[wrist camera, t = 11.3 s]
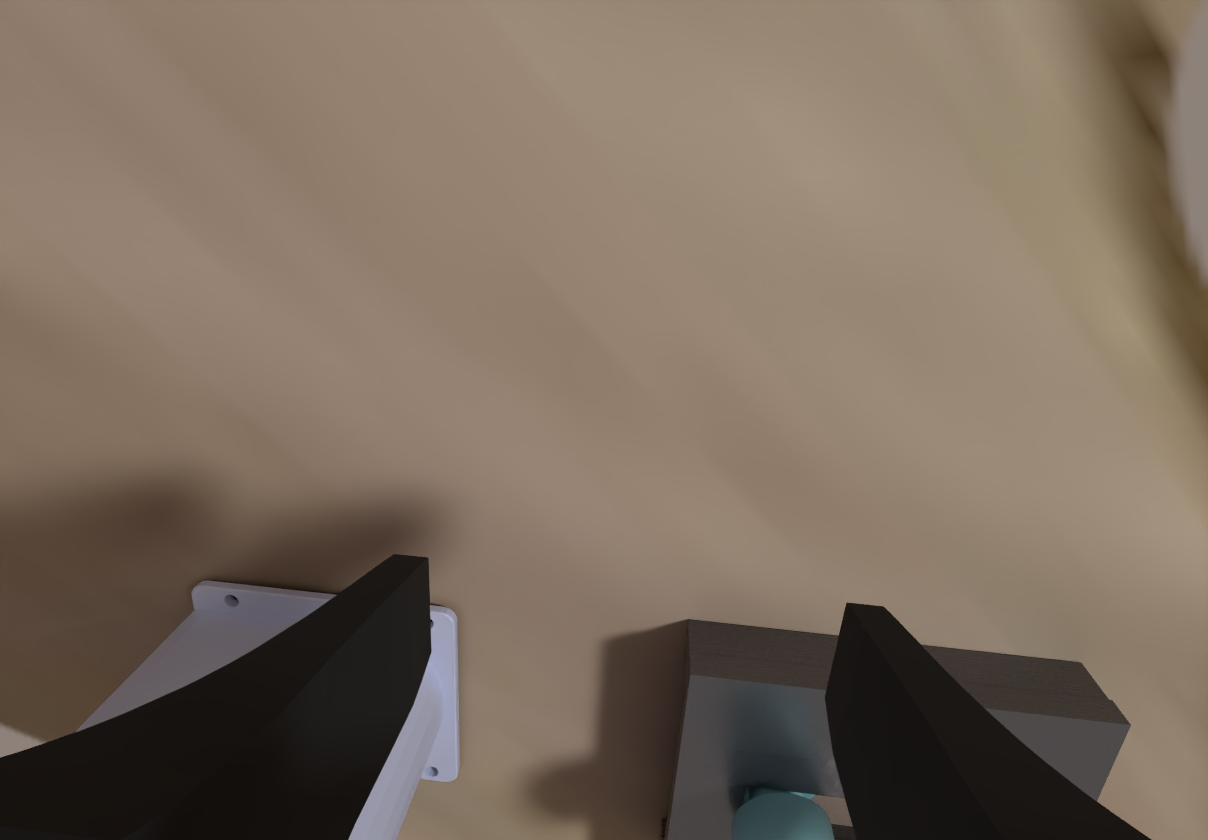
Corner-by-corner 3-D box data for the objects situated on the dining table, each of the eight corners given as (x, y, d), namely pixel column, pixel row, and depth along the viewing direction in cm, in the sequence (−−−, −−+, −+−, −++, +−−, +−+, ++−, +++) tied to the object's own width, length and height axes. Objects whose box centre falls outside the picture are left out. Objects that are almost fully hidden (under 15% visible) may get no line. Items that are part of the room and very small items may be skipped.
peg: (710, 782, 28) (721, 997, 21) (717, 699, 26) (731, 904, 19) (817, 790, 27) (865, 1012, 21) (830, 708, 26) (885, 917, 19)
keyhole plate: (659, 842, 29) (657, 912, 27) (688, 617, 25) (690, 674, 22) (992, 885, 28) (1024, 961, 26) (1082, 660, 24) (1130, 725, 22)
